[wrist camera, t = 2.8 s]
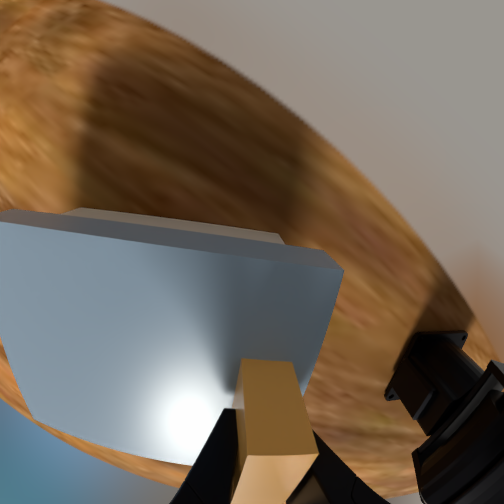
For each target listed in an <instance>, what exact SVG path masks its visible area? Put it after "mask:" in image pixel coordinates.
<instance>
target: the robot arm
mask: <svg viewBox="0 0 504 504" xmlns="http://www.w3.org/2000/svg"><path fill="white" fill-rule="evenodd" d="M467 337H468V333H467V332H465V331H464V330H463V331H434V332H418V333H416V334H415V335H414V336H413V338H412V341H411V343H410V345H409V347H408V349H407V351H406V354H405V356H404V358H403V360H402V362H401V364H400V366H399V368H398V370H397V372H396V374H395V376H394V378H393V380H392V382H391V383H390V385H389V387H388V389H387V391H386V393H385V394H384V397H385V399H386V400H387V401H391V400H398V399H400V400H401V402H402V403H403V405H404V406H405V408H406V409H407V411H408V412H409V414H410V416H411V417H412V419H413V420H417V422H418V423H419V425H420V426H421V428H422V430H423V431H424V433H425V434H426V436H430V435H431V436H430V437H429V438H428V439H427V440H426V441H425V442H424V443H423V444H422V445H421V446H420V447H419V448H416V449H415V450H414V451H413V452H412V458H413V463H414V468H415V473H416V478H417V484H418V489H419V495H420V498H421V501H422V503H423V504H504V392H501V391H502V390H503V388H504V364H503V363H500V362H497V361H494V360H491V361H490V362H489V364H488V365H487V369H486V370H485V371H483V370H482V369H481V368H480V367H479V366H478V365H477V364H476V363H475V362H474V361H473V360H472V359H471V358H470V357H469V356H468V355H467V354H466V353H465V352H464V351H463V350H462V347H463V345H464V343H465V341H466V339H467ZM312 431H313V429H312ZM313 434H314V438H315V441H316V445H317V448H318V452H319V454H318V456H317V457H316V459H315V461H314V462H313V464H312V465H311V467H310V468H309V470H308V471H307V472H306V474H305V475H304V477H303V478H302V480H301V481H300V482H299V484H298V485H297V487H296V488H295V489H294V491H293V492H292V493H291V495H290V496H289V497H288V499H287V500H286V504H390V503H389V502H387V501H386V500H385V499H383V498H382V497H381V496H379V495H378V494H377V493H376V492H374V491H373V490H372V489H371V488H370V487H369V486H367V485H366V484H365V483H364V482H363V481H362V480H361V479H360V478H359V477H358V476H357V477H356V474H355V473H354V472H353V471H352V470H351V469H350V468H349V467H348V466H347V465H346V464H345V463H344V462H343V461H342V460H341V459H340V458H339V457H338V456H337V455H336V454H335V453H334V452H333V451H332V450H331V449H330V448H329V447H328V446H327V445H326V443H325V442H324V441H323V440H322V439H321V438H320V437H319V436H318V435H317V434H316V433H315V432H314V431H313ZM237 452H238V431H237V419H236V409H233V408H224V409H223V411H222V413H221V414H220V416H219V418H218V420H217V422H216V424H215V426H214V428H213V430H212V431H211V433H210V435H209V437H208V439H207V441H206V443H205V444H204V446H203V448H202V450H201V452H200V453H199V455H198V457H197V459H196V461H195V462H194V464H193V466H192V468H191V470H190V471H189V473H188V475H187V477H186V478H185V481H184V482H183V483H182V485H181V487H180V488H179V490H178V492H177V493H176V495H175V496H174V498H173V499H172V501H171V502H170V503H169V504H231V498H232V490H233V483H234V475H235V467H236V460H237Z"/></svg>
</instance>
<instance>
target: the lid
mask: <svg viewBox="0 0 504 504" xmlns="http://www.w3.org/2000/svg"><path fill="white" fill-rule="evenodd" d="M343 274H344V270H343V269H342V268H341V267H340V266H339V265H338V264H337V263H336V262H335V261H334V260H333V259H332V258H331V257H330V256H329V255H328V254H327V253H326V252H325V251H324V250H318V249H311V248H305V247H298V246H291V245H284V244H278V243H271V242H264V241H257V240H250V239H243V238H236V237H229V236H222V235H215V234H208V233H200V232H193V231H186V230H178V229H171V228H163V227H156V226H148V225H141V224H133V223H125V222H118V221H110V220H102V219H94V218H86V217H77V216H69V215H61V214H53V213H44V212H35V211H27V210H18V209H10V210H7V211H3V212H0V337H1V340H2V343H3V346H4V349H5V352H6V355H7V358H8V361H9V364H10V366H11V369H12V372H13V374H14V377H15V379H16V382H17V384H18V386H19V389H20V391H21V393H22V396H23V398H24V400H25V402H26V404H27V406H28V408H29V410H30V412H31V414H32V416H33V418H34V419H35V420H37V421H39V422H41V423H43V424H46V425H48V426H50V427H52V428H55V429H57V430H59V431H62V432H64V433H67V434H69V435H72V436H75V437H77V438H80V439H83V440H86V441H89V442H92V443H95V444H98V445H101V446H104V447H107V448H111V449H114V450H118V451H121V452H125V453H129V454H133V455H137V456H142V457H146V458H151V459H156V460H161V461H166V462H172V463H178V464H185V465H192V466H193V464H194V462H195V461H196V459H197V457H198V455H199V453H200V452H201V450H202V448H203V446H204V444H205V443H206V441H207V439H208V437H209V435H210V433H211V431H212V430H213V428H214V426H215V424H216V422H217V420H218V418H219V416H220V414H221V413H222V411H223V409H224V408H233V409H236V419H237V431H238V452H237V460H236V467H235V475H234V483H233V490H232V498H231V504H284V502H285V501H286V500H287V499H288V497H289V496H290V495H291V493H292V492H293V491H294V489H295V488H296V487H297V485H298V484H299V482H300V481H301V480H302V478H303V477H304V475H305V474H306V472H307V471H308V470H309V468H310V467H311V465H312V464H313V462H314V461H315V459H316V457H317V456H318V454H319V452H318V448H317V445H316V441H315V438H314V434H313V431H312V428H311V424H310V421H309V417H308V414H307V411H306V407H305V404H304V400H303V395H304V393H305V390H306V387H307V385H308V382H309V380H310V377H311V374H312V371H313V369H314V366H315V363H316V360H317V358H318V355H319V352H320V349H321V346H322V343H323V340H324V337H325V334H326V331H327V328H328V325H329V322H330V318H331V315H332V312H333V309H334V305H335V302H336V298H337V295H338V292H339V288H340V284H341V281H342V277H343Z"/></svg>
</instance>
